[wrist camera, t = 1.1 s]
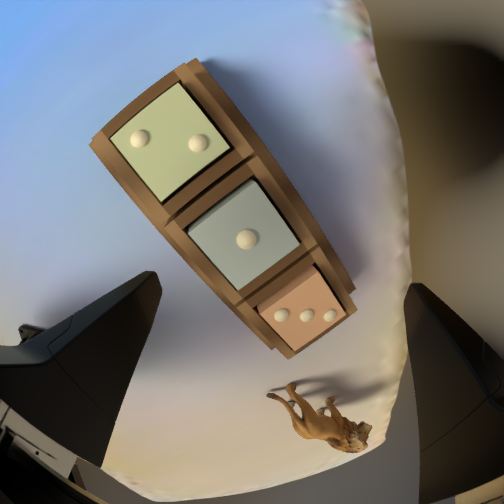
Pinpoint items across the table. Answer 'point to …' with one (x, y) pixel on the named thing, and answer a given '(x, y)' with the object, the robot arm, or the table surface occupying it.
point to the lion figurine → (325, 424)
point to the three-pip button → (301, 308)
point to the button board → (219, 186)
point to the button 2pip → (169, 141)
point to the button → (243, 234)
